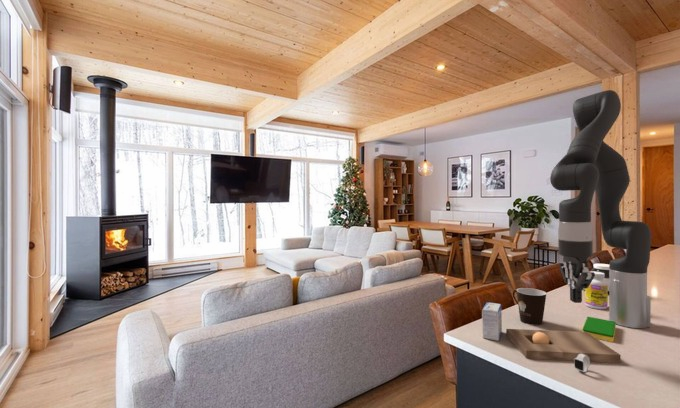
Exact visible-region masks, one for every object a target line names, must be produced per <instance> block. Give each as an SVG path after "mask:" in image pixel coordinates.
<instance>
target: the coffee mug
mask: <svg viewBox="0 0 680 408" xmlns="http://www.w3.org/2000/svg"><path fill="white" fill-rule="evenodd" d="M515 293H516V294H515ZM515 295H516V296H515ZM516 297H517V299H516ZM512 298H513V300H514V301H515V303H516V304H517V305H518V313H519V320H520V322H521V323H524V324H525V325H526V324H527V325H529V326H541V325H542V324H543V323H544V315H545V307H546V299H547V292H546V291H544V290H540V289H536V288H530V287H529V288H528V287H520V288H516V289H515V290H513V291H512Z"/></svg>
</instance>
